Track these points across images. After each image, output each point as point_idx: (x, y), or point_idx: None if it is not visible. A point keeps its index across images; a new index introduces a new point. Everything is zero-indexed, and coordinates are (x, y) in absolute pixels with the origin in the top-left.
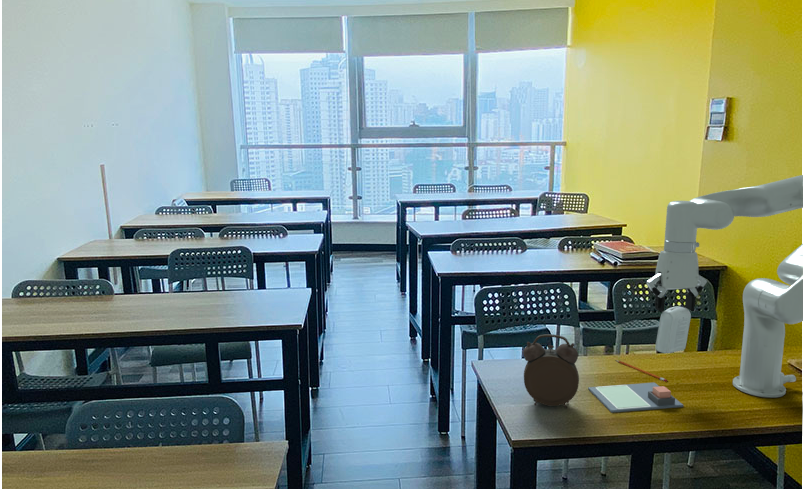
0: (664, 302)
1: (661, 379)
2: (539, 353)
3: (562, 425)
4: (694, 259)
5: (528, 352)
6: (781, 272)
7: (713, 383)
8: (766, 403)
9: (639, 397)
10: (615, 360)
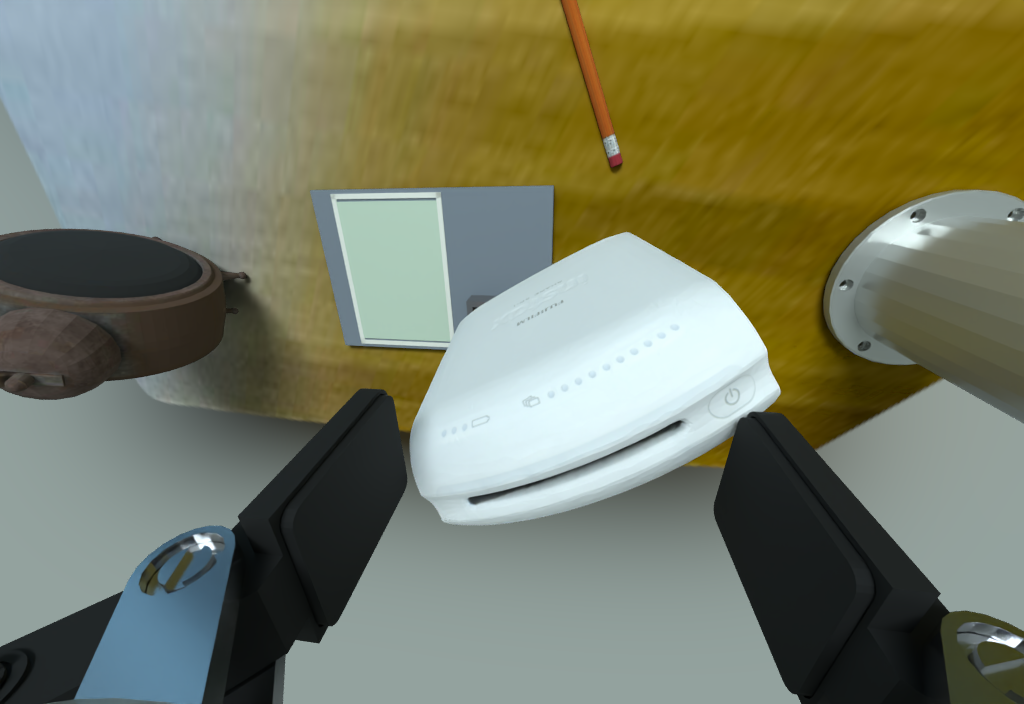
0: (360, 572)
1: (605, 148)
2: None
3: (231, 372)
4: None
5: None
6: None
7: (788, 211)
8: (815, 379)
9: (445, 293)
10: None
